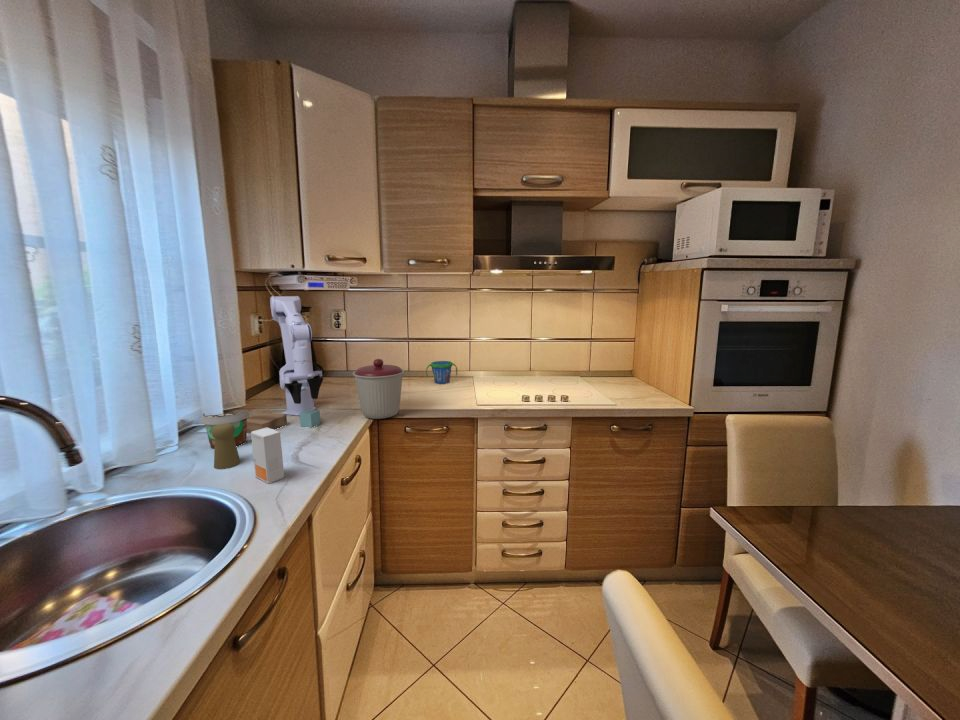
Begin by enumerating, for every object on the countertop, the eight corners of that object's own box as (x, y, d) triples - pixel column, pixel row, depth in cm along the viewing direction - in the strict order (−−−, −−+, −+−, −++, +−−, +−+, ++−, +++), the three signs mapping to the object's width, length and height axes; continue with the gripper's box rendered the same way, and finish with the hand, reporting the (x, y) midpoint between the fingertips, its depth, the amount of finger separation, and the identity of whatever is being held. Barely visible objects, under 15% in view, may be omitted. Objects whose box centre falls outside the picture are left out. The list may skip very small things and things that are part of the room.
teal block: (309, 422, 138) (308, 409, 137) (320, 424, 137) (319, 410, 136) (300, 427, 134) (299, 412, 133) (311, 428, 133) (310, 414, 132)
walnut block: (264, 423, 139) (263, 412, 138) (287, 426, 136) (286, 414, 135) (239, 432, 129) (238, 421, 129) (263, 436, 126) (262, 424, 126)
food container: (197, 453, 112) (192, 419, 110) (205, 445, 118) (201, 413, 116) (245, 448, 115) (242, 415, 114) (251, 441, 121) (248, 409, 120)
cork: (211, 464, 105) (206, 424, 103) (237, 457, 109) (232, 419, 107) (216, 471, 101) (211, 430, 99) (243, 464, 105) (238, 424, 103)
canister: (347, 422, 138) (343, 363, 135) (365, 407, 156) (362, 354, 152) (398, 423, 137) (395, 363, 133) (410, 408, 155) (409, 355, 151)
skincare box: (254, 478, 97) (249, 431, 95) (271, 471, 101) (267, 426, 99) (268, 484, 94) (263, 436, 92) (285, 477, 98) (280, 431, 95)
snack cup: (425, 385, 192) (424, 364, 191) (427, 380, 203) (427, 360, 201) (457, 385, 193) (457, 364, 191) (458, 380, 203) (457, 360, 201)
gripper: (294, 363, 123) (298, 406, 125) (327, 358, 137) (331, 396, 138) (277, 363, 126) (281, 405, 127) (311, 358, 139) (315, 396, 141)
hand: (306, 400), depth 133 cm, fingers open, 7 cm apart
